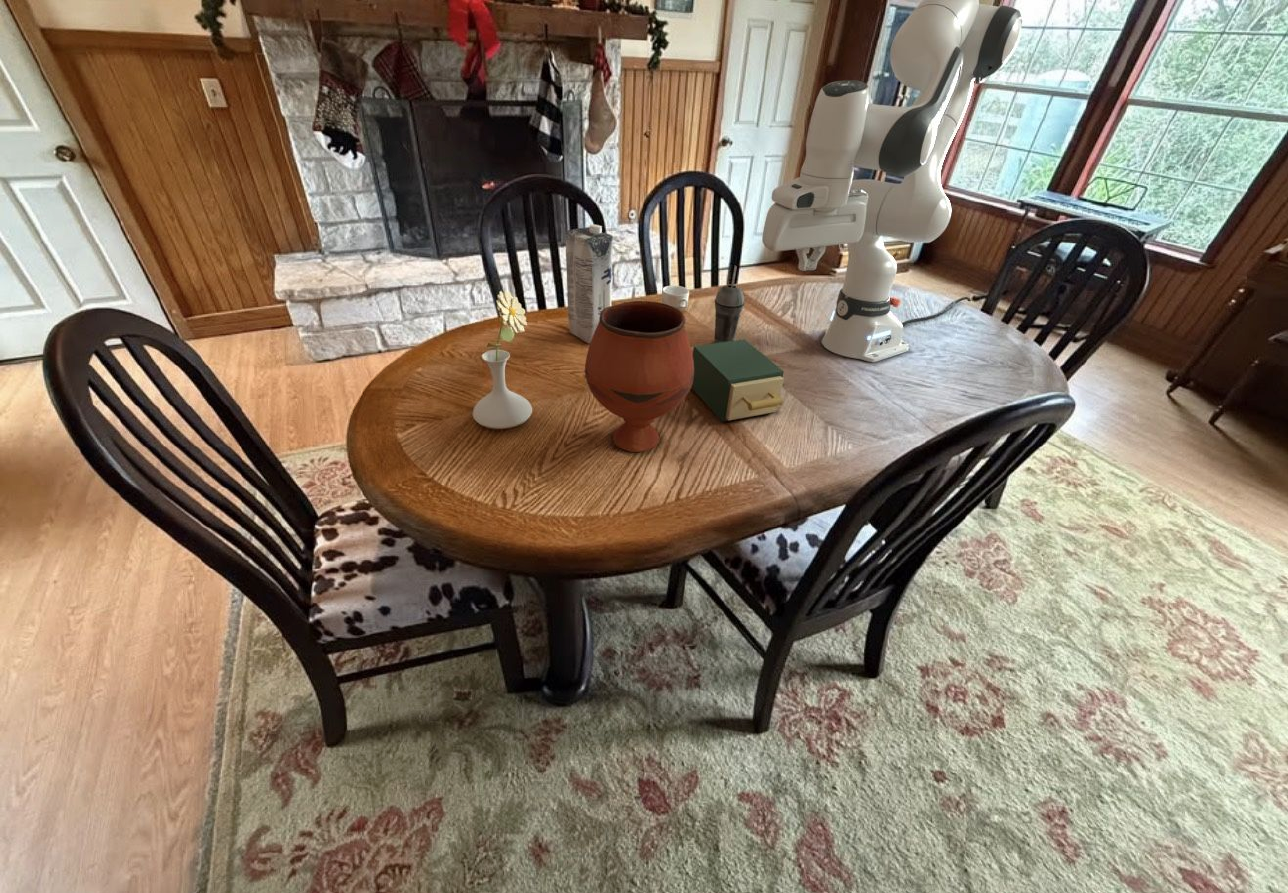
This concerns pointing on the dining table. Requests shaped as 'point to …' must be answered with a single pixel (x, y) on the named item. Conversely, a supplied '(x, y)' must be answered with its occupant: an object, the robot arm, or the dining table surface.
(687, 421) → the dining table surface
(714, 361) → the cabinet
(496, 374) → the flower in vase
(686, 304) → the teacup
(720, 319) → the beverage cup
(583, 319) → the juice carton
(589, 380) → the goblet
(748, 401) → the drawer
